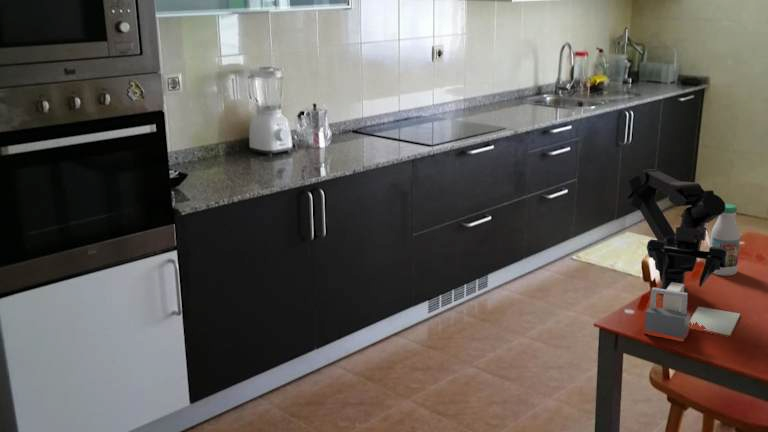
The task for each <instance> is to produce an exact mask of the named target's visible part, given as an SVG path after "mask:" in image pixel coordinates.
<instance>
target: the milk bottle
mask: <svg viewBox="0 0 768 432" xmlns="http://www.w3.org/2000/svg"><path fill="white" fill-rule="evenodd" d="M737 211H738V208H737V206H736V205H734V204H731V203H725V211H724V212H723V213H722V214H721V215H719V216H718V217H717V220H716V222H715V224H714V225H713V227H712V229H711V235H710V241H709V248H710V247H716V248H724V249H725V250H726V251H727V258H728V259H727V265H726V267H725V268H721V267H720V270H715V271H714V272H713V273H712V274H714V275H718V276H722V277H723V276H724V277H725V276H726V277H727V276H734V275H736V274H737V272H738V263H739V253H740V242H741V241H740V240H741V235H740V233H741V232H740V227H739V226H738V223H737V220H736V215H737Z"/></svg>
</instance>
